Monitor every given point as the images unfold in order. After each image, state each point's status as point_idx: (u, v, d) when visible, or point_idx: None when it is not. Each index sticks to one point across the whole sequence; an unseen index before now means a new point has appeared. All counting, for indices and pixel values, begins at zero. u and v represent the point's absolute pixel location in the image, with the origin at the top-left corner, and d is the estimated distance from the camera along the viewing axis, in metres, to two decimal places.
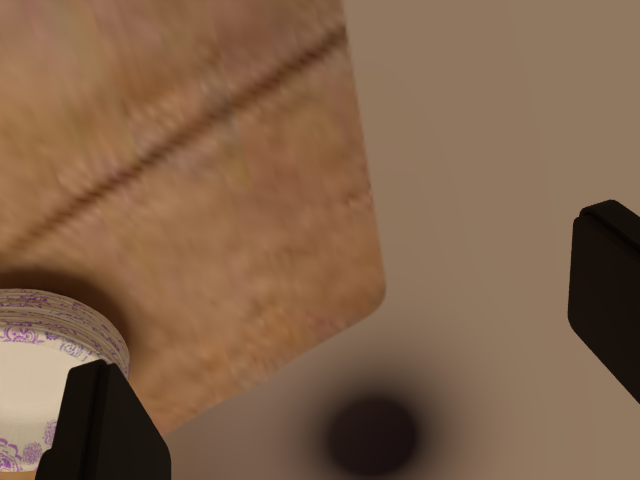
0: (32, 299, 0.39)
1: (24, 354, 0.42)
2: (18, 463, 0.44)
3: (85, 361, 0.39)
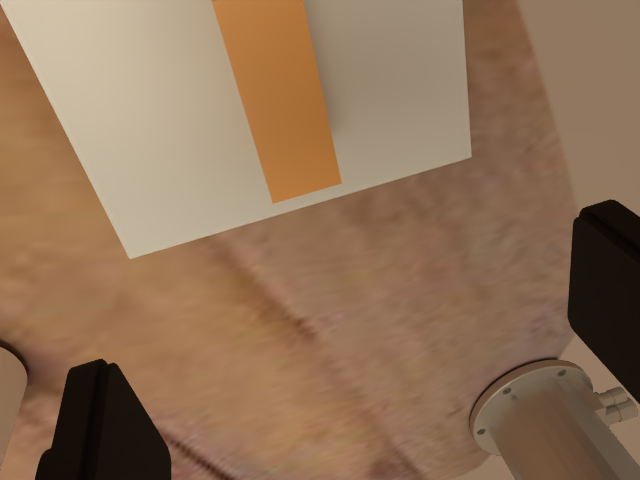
0: None
1: None
2: None
3: None
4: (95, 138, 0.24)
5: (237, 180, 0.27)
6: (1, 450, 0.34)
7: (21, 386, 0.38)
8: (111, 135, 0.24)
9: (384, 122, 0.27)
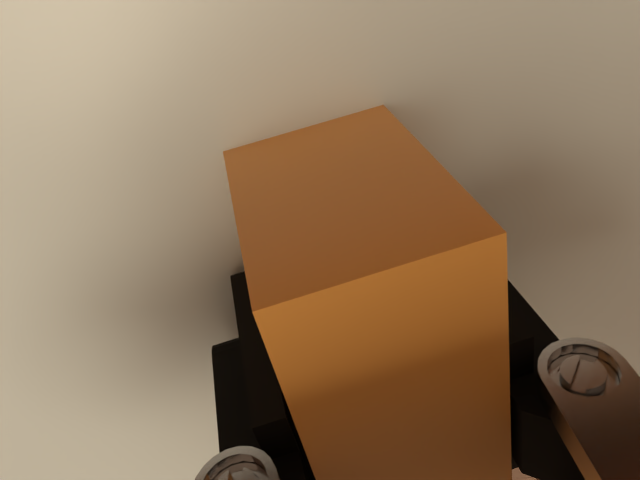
0: None
1: None
2: None
3: None
4: None
5: None
6: None
7: None
8: (29, 425, 0.12)
9: None
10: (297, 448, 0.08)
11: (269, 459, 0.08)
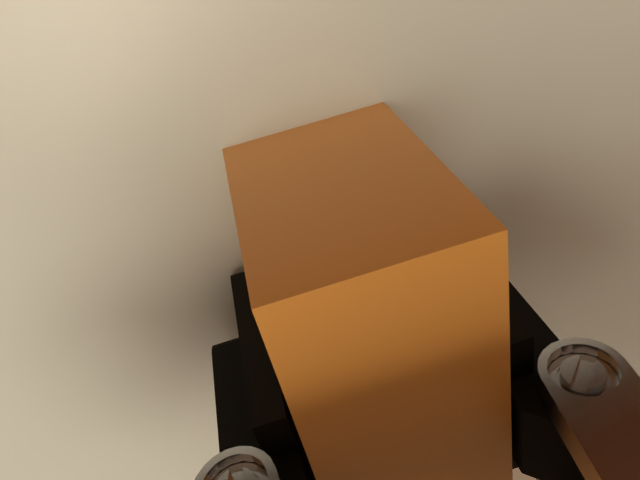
0: None
1: None
2: None
3: None
4: None
5: None
6: None
7: None
8: (27, 424, 0.12)
9: None
10: (297, 448, 0.08)
11: (269, 459, 0.08)
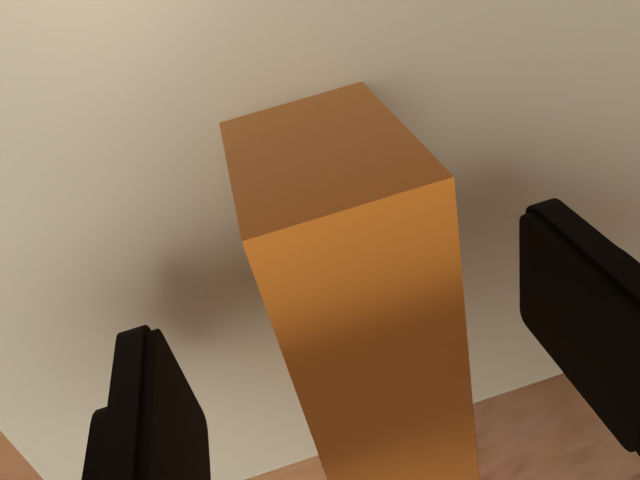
0: None
1: None
2: None
3: None
4: (14, 383, 0.13)
5: (269, 414, 0.16)
6: None
7: None
8: (44, 376, 0.13)
9: (518, 314, 0.16)
10: None
11: None
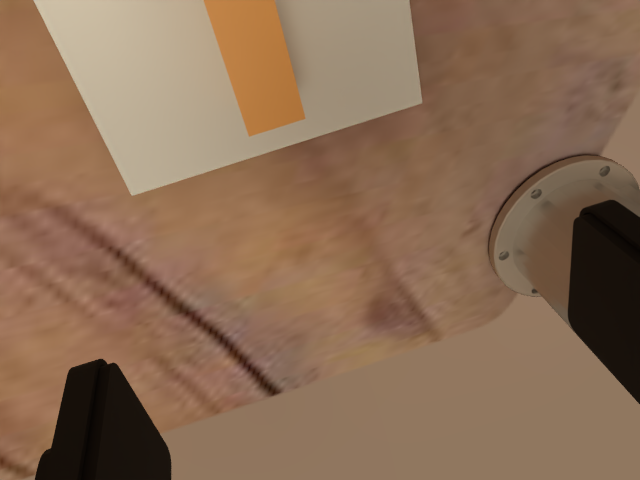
0: None
1: None
2: None
3: None
4: (100, 88, 0.29)
5: (221, 125, 0.32)
6: None
7: None
8: (113, 85, 0.29)
9: (344, 72, 0.32)
10: None
11: None
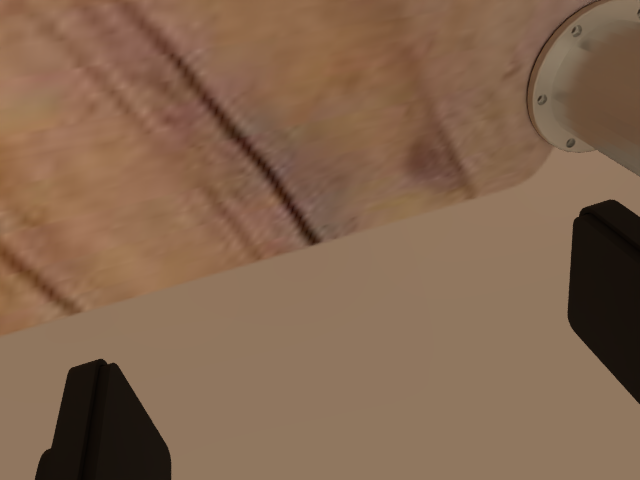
0: None
1: None
2: None
3: None
4: None
5: None
6: None
7: None
8: None
9: None
10: None
11: None
